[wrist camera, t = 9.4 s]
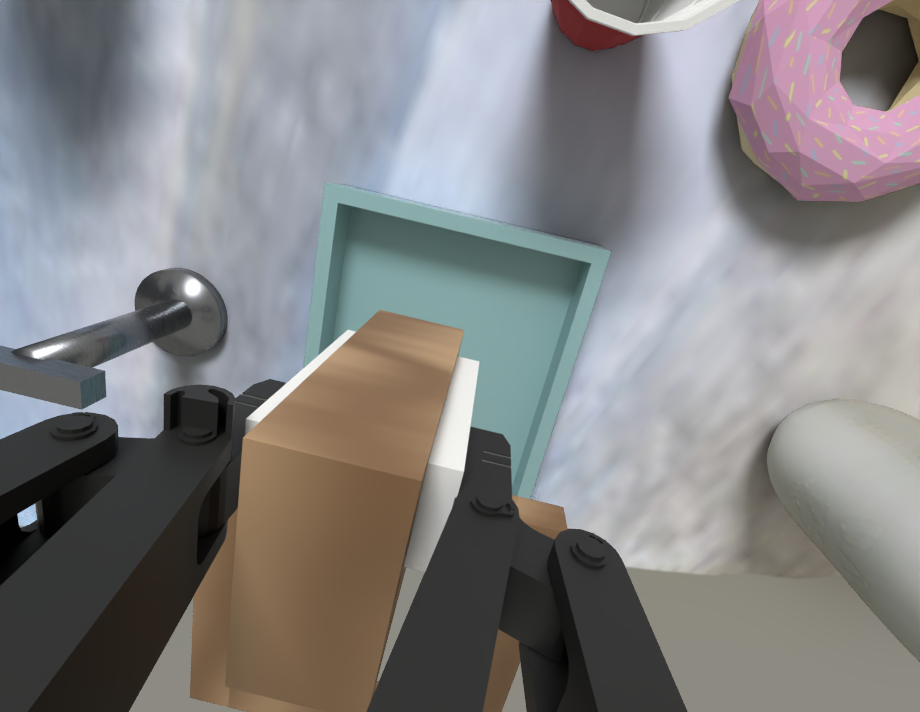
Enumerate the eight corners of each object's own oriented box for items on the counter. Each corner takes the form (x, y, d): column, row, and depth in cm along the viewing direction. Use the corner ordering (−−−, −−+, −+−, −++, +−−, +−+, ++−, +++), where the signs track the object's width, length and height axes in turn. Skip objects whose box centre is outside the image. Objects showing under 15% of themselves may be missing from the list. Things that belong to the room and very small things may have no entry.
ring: (209, 666, 23) (35, 946, 14) (231, 273, 16) (-70, 361, 8) (481, 733, 23) (467, 1056, 14) (614, 366, 16) (739, 558, 8)
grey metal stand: (144, 341, 39) (-50, 420, 25) (143, 258, 37) (-71, 297, 23) (230, 361, 39) (84, 453, 25) (235, 280, 37) (76, 333, 23)
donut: (697, 199, 32) (730, 200, 28) (743, -75, 27) (794, -132, 23) (936, 203, 31) (1014, 204, 26) (1030, -83, 26) (1146, -144, 22)
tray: (306, 472, 42) (288, 498, 39) (343, 184, 34) (324, 183, 30) (511, 522, 42) (511, 552, 38) (599, 245, 34) (611, 251, 30)
